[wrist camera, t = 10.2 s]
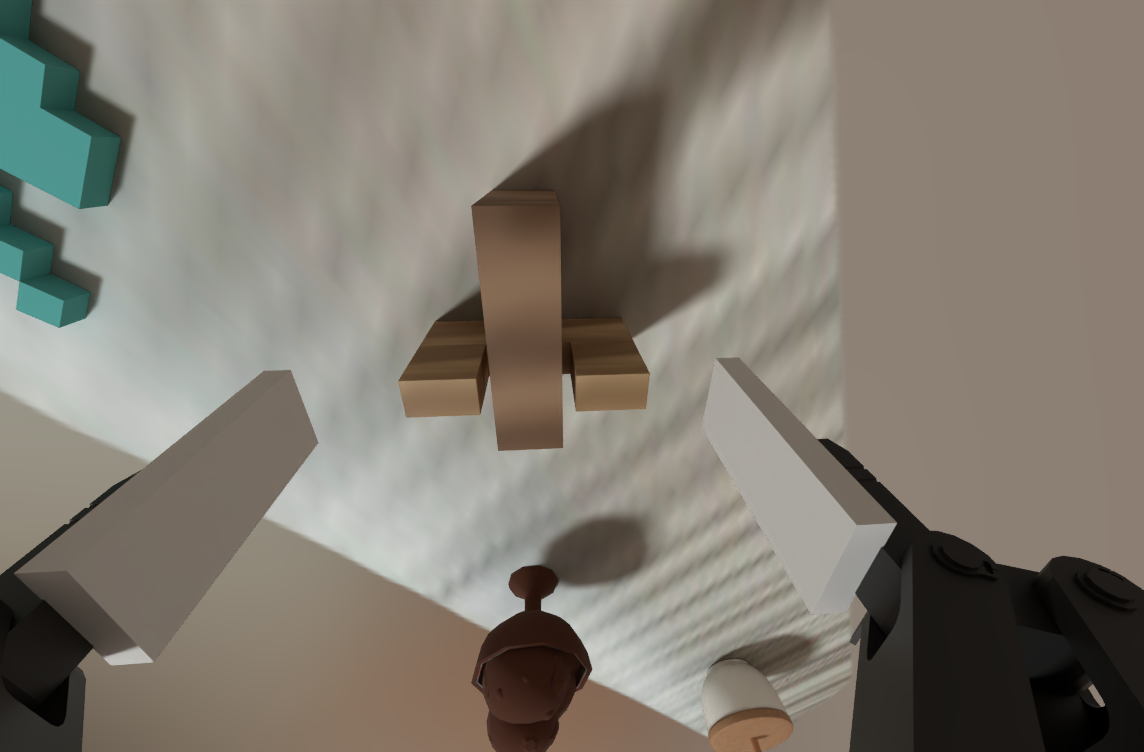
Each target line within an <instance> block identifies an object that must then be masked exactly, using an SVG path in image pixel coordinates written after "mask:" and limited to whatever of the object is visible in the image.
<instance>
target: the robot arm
mask: <svg viewBox="0 0 1144 752" xmlns="http://www.w3.org/2000/svg"><path fill="white" fill-rule="evenodd" d="M702 429H703V431H704V432H705V434H706V436H707V437H708V439H709V441H710V442H711V444H712V446H713V448H714V449H715V451H716V453H717V454H718V456H719V458H720V460H721V461H722V463H723V465H724V466H725V468H726V470H727V472H728V473H729V475H730V477H731V478H732V480H733V482H734V483H735V485H736V487H737V489H738V490H739V492H740V494H741V495H742V497H743V499H744V501H745V502H746V504H747V506H748V507H749V509H750V511H751V513H752V514H753V516H754V518H755V519H756V521H757V523H758V524H759V526H760V528H761V530H762V531H763V533H764V535H765V536H766V538H767V540H768V542H769V543H770V545H771V547H772V548H773V550H774V552H775V554H776V555H777V557H778V559H779V560H780V562H781V564H782V565H783V567H784V569H785V571H786V572H787V574H788V576H789V577H790V579H791V581H792V583H793V584H794V586H795V588H796V589H797V591H798V593H799V595H800V596H801V598H802V600H803V601H804V603H805V605H806V606H807V608H808V610H809V612H810V613H811V615H815V614H829V613H843V612H846V611H847V609H848V607H849V606H850V604H851V602H852V600H853V599H854V597H855V595H857V597H858V598H859V599H860V601H861V602H862V604H863V605H864V607H865V608H866V609H867V613H866V614H865V616H864V618H863V619H862V621H861V622H860V624H859V626H858V627H857V629H856V630H855V632H854V634H853V636H852V638H851V640H850V643H852V644H854V645H856V644H857V642H858V641H859V639H860V638H861V640H860V650H859V660H858V670H857V681H856V690H855V700H854V710H853V720H852V730H851V741H850V750H849V752H1144V590H1142V589H1141V588H1140V587H1138V586H1136V585H1135V584H1134V583H1132V582H1131V581H1129V580H1128V579H1126V578H1125V577H1123V576H1122V575H1120V574H1118V573H1116V572H1114V571H1111V570H1110V569H1107V568H1105V567H1103V566H1101V565H1098V564H1095V563H1092V562H1089V561H1087V560H1084V559H1081V558H1075V557H1067V556H1060V557H1056V558H1052V559H1051V560H1050V561H1049V563H1048V564H1047V565H1046V566H1045V567H1044V568H1043V569H1042V570H1041V571H1040V572H1035V571H1030V570H1025V569H1020V568H1016V567H1011V566H1006V565H1001V564H996V563H995V562H994V561H993V560H992V559H991V558H990V557H989V556H988V555H987V554H985V553H984V552H982V551H981V550H980V549H978V548H977V547H975V546H974V545H972V544H970V543H968V542H966V541H964V540H962V539H960V538H958V537H956V536H954V535H950V534H946V533H943V532H939V531H929V529H927V528H926V527H925V526H924V525H923V524H922V523H921V522H920V521H919V520H918V519H917V518H916V517H915V516H914V515H913V514H912V513H911V512H910V511H909V510H908V509H907V508H906V507H905V506H904V505H903V504H902V503H901V502H900V501H899V500H898V499H897V498H896V497H895V496H894V495H893V494H892V493H890V491H888V490H887V488H885V487H884V486H883V485H882V484H881V483H880V482H877V481H876V478H875V477H874V476H873V475H872V474H871V473H870V472H869V471H868V470H867V469H864V466H863V465H862V464H861V463H860V462H859V461H858V460H857V459H856V458H855V457H854V456H853V455H852V454H851V453H850V452H849V451H847V450H845V449H844V448H842V447H841V446H839V445H837V444H836V443H834V442H832V441H831V440H829V439H816V438H815V437H814V436H813V435H812V433H811V432H810V431H809V430H808V429H807V428H806V427H805V426H804V425H803V424H802V423H801V422H800V421H799V420H798V419H797V418H796V417H795V416H794V415H793V414H792V413H791V412H790V411H789V409H788V408H787V407H786V406H785V405H784V404H783V403H782V402H781V401H780V400H779V399H778V398H777V397H776V396H775V395H774V394H773V393H772V392H771V391H770V390H769V389H768V388H767V387H766V385H765V384H764V383H763V382H762V381H761V380H760V379H759V378H758V377H757V376H756V375H755V374H754V373H753V372H752V371H751V370H750V369H749V368H748V367H747V366H746V365H745V364H744V363H743V361H742V360H741V359H740V358H716V359H715V364H714V369H713V374H712V379H711V384H710V389H709V394H708V399H707V404H706V409H705V414H704V419H703V424H702ZM317 444H318V440H317V438H316V435H315V433H314V430H313V427H312V425H311V422H310V419H309V417H308V414H307V412H306V409H305V406H304V404H303V401H302V399H301V396H300V393H299V391H298V388H297V385H296V383H295V380H294V378H293V375H292V372H291V370H279V371H263V372H262V373H261V374H260V375H258V376H257V377H256V378H255V379H253V380H252V381H251V382H250V383H248V384H247V385H246V386H245V387H244V388H242V389H241V390H240V391H239V392H237V393H236V394H235V395H234V396H232V397H231V398H230V399H229V400H227V401H226V402H225V403H224V404H223V405H221V406H220V407H219V408H218V409H216V410H215V411H214V412H213V413H211V414H210V415H209V416H208V417H206V418H205V419H204V420H203V421H202V422H200V423H199V424H198V425H197V426H195V427H194V428H193V429H192V430H190V431H189V432H188V433H187V434H186V435H184V436H183V437H182V438H181V439H179V440H178V441H177V442H176V443H174V444H173V445H172V446H171V447H169V448H168V449H167V450H166V451H165V452H163V453H162V454H161V455H160V456H158V457H157V458H156V459H155V460H153V461H152V462H151V463H150V464H148V465H147V466H146V467H145V468H144V469H142V470H140V471H139V472H137V473H135V474H133V475H131V476H130V477H128V478H126V479H125V480H122V481H121V482H119V483H117V484H115V485H113V486H112V487H111V488H110V489H108V490H107V491H106V492H105V493H103V494H102V495H101V496H100V497H98V498H97V499H96V500H95V501H93V502H92V503H91V504H90V507H89V508H84V509H83V510H82V511H81V512H80V513H78V514H77V515H76V516H74V517H73V518H72V519H70V523H69V524H64V525H63V526H62V527H60V528H59V529H58V530H57V531H55V532H54V533H53V534H52V535H50V536H49V537H48V538H47V539H45V540H44V541H43V542H41V543H40V544H39V545H38V546H36V547H35V548H34V549H33V550H31V551H30V552H29V553H28V554H26V555H25V556H24V557H23V558H21V559H20V560H19V561H17V562H16V563H15V564H14V565H13V566H11V567H10V568H9V569H7V570H6V571H5V572H4V573H2V574H1V575H0V752H82V737H83V720H84V701H85V685H86V678H85V676H84V673H83V671H82V670H81V669H80V668H79V667H78V666H77V665H78V664H79V663H80V662H81V661H82V660H83V659H84V657H85V656H86V655H87V654H88V653H89V652H90V651H91V650H92V649H94V650H95V651H97V652H98V653H99V654H100V655H101V656H102V657H103V658H104V659H105V660H106V661H107V662H108V663H109V664H110V665H122V664H136V663H149V662H155V660H156V659H157V657H158V656H159V655H160V653H161V652H162V651H163V650H164V648H165V647H166V645H167V644H168V643H169V641H170V640H171V639H172V637H173V636H174V635H175V633H176V632H177V631H178V629H179V628H180V627H181V625H182V624H183V623H184V621H185V620H186V619H187V617H188V616H189V615H190V613H191V612H192V611H193V609H194V608H195V607H196V605H197V604H198V603H199V601H200V600H201V599H202V597H203V596H204V595H205V593H206V592H207V591H208V589H209V588H210V587H211V585H212V584H213V583H214V581H215V580H216V579H217V577H218V576H219V575H220V573H221V572H222V571H223V569H224V568H225V567H226V565H227V564H228V563H229V561H230V560H231V558H232V557H233V556H234V555H235V553H236V552H237V551H238V549H239V548H240V547H241V545H242V544H243V543H244V541H245V540H246V539H247V537H248V536H249V535H250V533H251V532H252V531H253V529H254V528H255V527H256V525H257V524H258V523H259V521H260V520H261V519H262V517H263V516H264V515H265V513H266V512H267V511H268V509H269V508H270V507H271V505H272V504H273V503H274V501H275V500H276V499H277V497H278V496H279V495H280V493H281V492H282V491H283V489H284V488H285V487H286V485H287V484H288V483H289V481H290V480H291V479H292V477H293V476H294V475H295V473H296V472H297V471H298V469H299V468H300V467H301V465H302V464H303V463H304V461H305V460H306V459H307V457H308V456H309V455H310V453H311V452H312V450H313V449H314V448H315V446H316V445H317ZM1092 684H1094V686H1095V688H1096V689H1097V691H1098V692H1099V694H1100V696H1101V697H1102V699H1103V701H1104V703H1105V706H1104V707H1100V705H1099V704H1098V703H1097V702H1096V700H1095V699H1094V697H1093V696H1092V694H1091V692H1090V691H1089V689H1088V688H1089V687H1090V686H1091V685H1092Z"/></svg>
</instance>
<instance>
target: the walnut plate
mask: <svg viewBox="0 0 1144 752" xmlns="http://www.w3.org/2000/svg"><path fill="white" fill-rule="evenodd" d="M471 207H472V216H473V225H474V235H475V244H476V253H477V262H478V271H479V280H480V289H481V298H482V307H483V317H484V326H485V335H486V344H487V353H488V362H489V371H490V380H491V389H492V399H493V408H494V417H495V426H496V435H497V444H498V451H504V450H527V449H550V448H563V409H562V323H561V236H560V204H559V201H558V199H557V197H556V194H555V192H554V190H492V191H490V192H489V193H488V194H486V195H485V196H484V197H483V198H481V199H480V200H479V201H477V202H476V203H475V204H473V205H472V206H471Z"/></svg>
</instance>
